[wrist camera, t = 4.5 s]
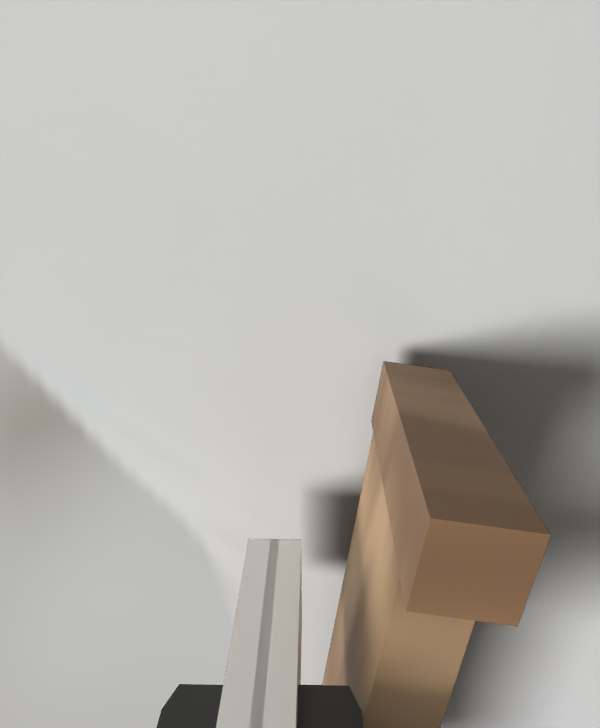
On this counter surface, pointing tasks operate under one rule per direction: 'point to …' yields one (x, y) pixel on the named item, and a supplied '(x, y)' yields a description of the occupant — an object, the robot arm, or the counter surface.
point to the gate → (428, 551)
